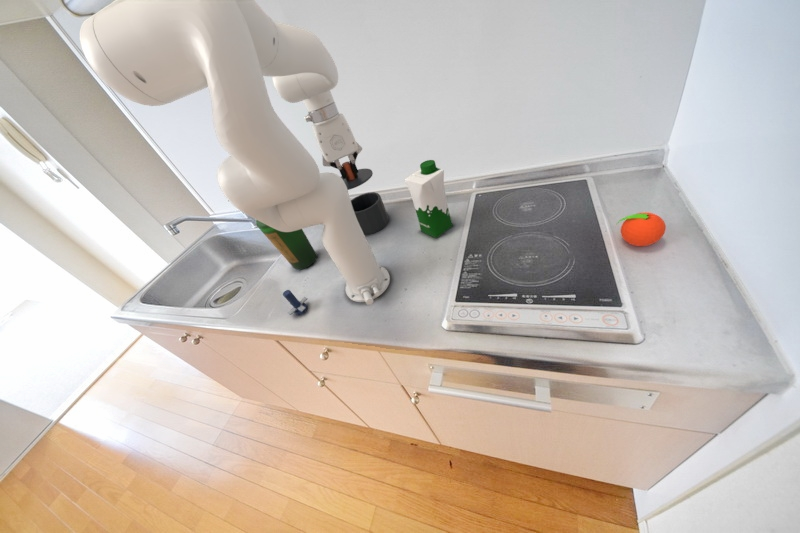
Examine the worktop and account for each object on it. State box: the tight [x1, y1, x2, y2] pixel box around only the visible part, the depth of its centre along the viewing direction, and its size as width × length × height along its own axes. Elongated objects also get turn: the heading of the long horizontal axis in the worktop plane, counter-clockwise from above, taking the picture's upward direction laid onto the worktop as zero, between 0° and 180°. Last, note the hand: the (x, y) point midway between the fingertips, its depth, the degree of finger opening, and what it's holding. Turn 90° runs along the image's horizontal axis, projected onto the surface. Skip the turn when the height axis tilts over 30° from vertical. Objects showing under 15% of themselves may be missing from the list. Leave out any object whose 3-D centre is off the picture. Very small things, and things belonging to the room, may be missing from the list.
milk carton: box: [404, 159, 453, 239], centre depth 76 cm, size 9×9×20 cm
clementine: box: [617, 212, 666, 247], centre depth 56 cm, size 8×7×7 cm
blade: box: [282, 289, 309, 316], centre depth 71 cm, size 6×6×8 cm
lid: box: [340, 161, 374, 191], centre depth 82 cm, size 13×13×6 cm
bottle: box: [255, 219, 318, 271], centre depth 81 cm, size 11×11×28 cm
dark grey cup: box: [350, 191, 390, 236], centre depth 92 cm, size 12×12×9 cm
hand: (351, 177), depth 83 cm, fingers closed on lid, 2 cm apart
